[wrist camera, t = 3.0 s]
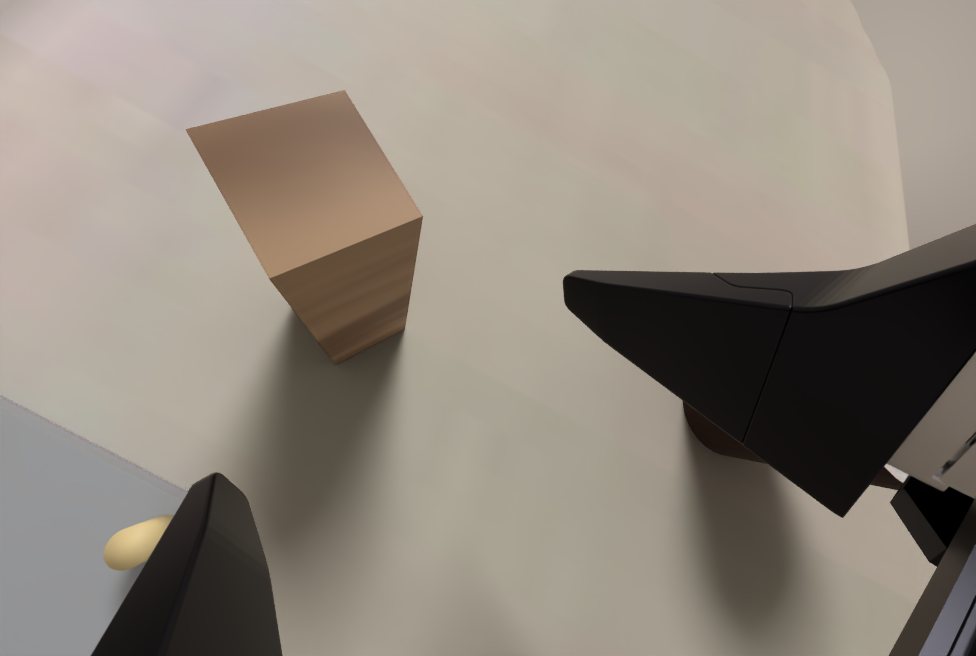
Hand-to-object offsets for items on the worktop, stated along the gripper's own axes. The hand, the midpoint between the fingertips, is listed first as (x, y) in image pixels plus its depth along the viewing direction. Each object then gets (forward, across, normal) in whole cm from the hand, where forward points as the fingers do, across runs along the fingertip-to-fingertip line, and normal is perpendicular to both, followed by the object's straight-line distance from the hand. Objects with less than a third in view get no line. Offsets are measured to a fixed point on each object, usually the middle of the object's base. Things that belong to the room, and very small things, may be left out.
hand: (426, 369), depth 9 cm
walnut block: (+13, 0, +4) cm, 14 cm away
